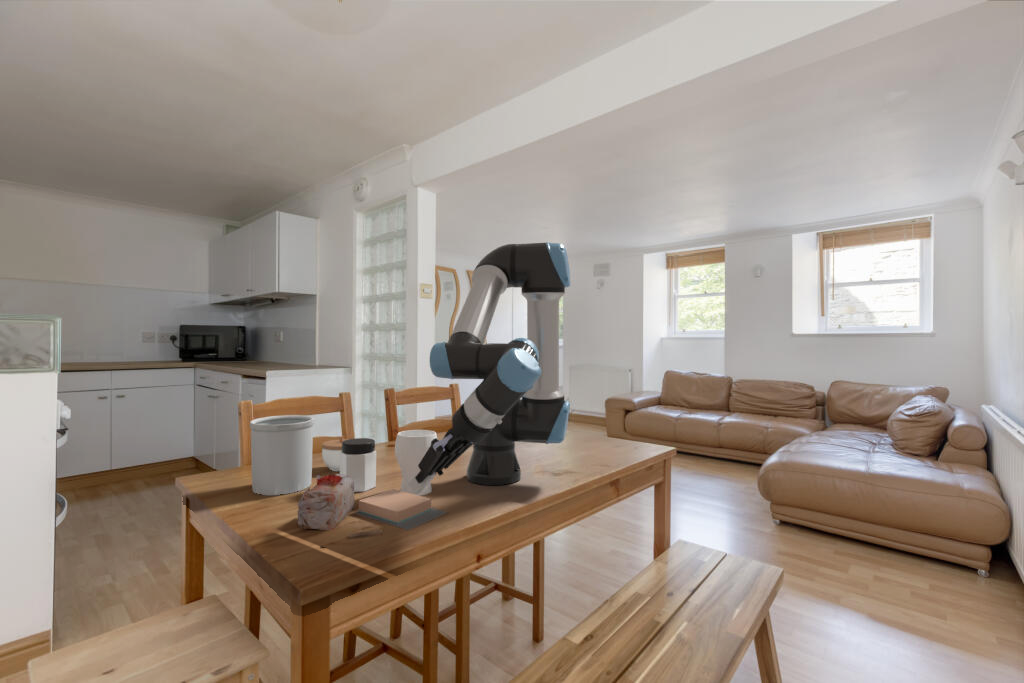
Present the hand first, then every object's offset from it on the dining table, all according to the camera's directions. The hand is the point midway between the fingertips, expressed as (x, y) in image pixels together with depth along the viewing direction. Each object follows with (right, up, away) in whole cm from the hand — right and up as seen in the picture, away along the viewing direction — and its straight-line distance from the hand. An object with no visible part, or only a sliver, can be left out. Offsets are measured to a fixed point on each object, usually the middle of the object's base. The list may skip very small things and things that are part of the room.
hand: (414, 488), depth 99 cm
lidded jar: (-30, -7, +41) cm, 51 cm away
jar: (-19, -7, +22) cm, 30 cm away
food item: (-18, -7, -1) cm, 19 cm away
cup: (-3, -7, +18) cm, 20 cm away
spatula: (-10, -7, -10) cm, 16 cm away
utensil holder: (-39, -7, +22) cm, 45 cm away
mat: (-3, -7, +3) cm, 8 cm away
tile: (0, -5, +1) cm, 5 cm away
